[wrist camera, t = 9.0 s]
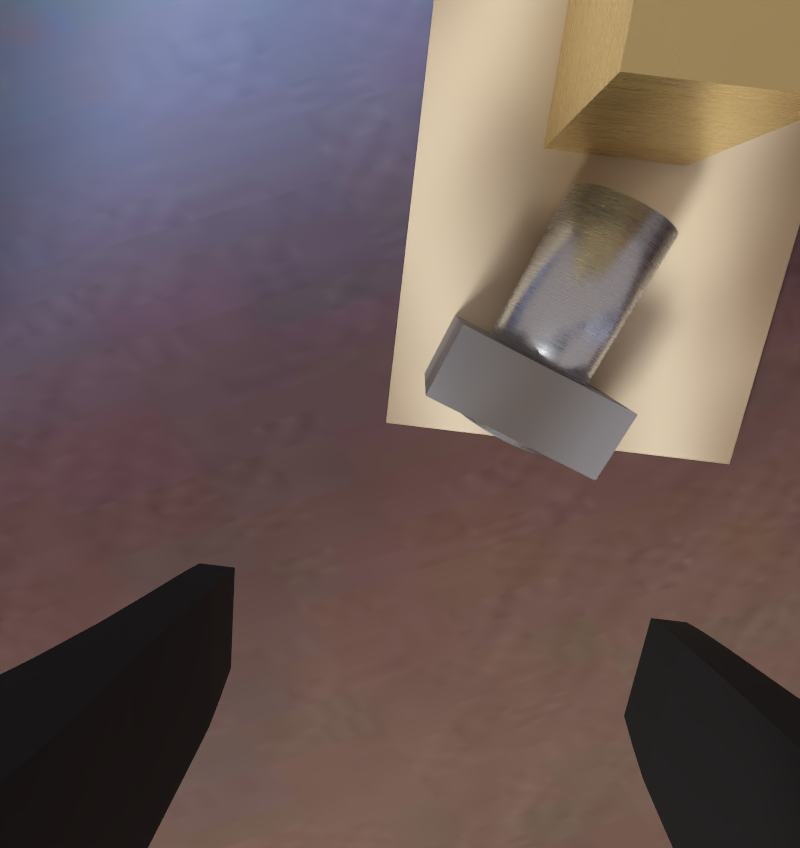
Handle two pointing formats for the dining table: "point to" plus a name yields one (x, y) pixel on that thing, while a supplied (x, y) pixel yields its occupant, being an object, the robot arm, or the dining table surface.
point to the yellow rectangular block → (674, 77)
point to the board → (525, 227)
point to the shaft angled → (583, 282)
